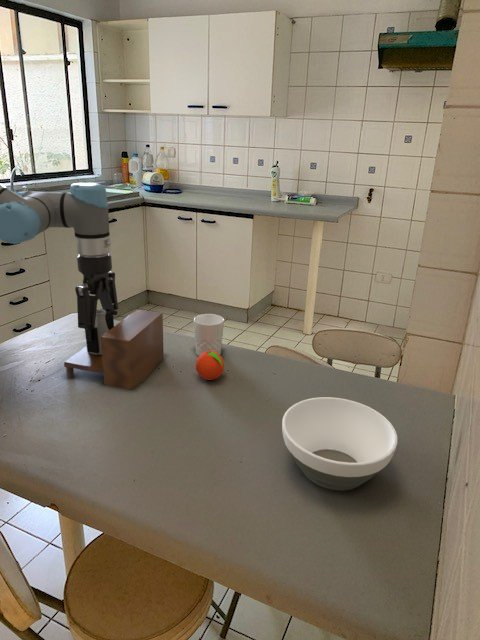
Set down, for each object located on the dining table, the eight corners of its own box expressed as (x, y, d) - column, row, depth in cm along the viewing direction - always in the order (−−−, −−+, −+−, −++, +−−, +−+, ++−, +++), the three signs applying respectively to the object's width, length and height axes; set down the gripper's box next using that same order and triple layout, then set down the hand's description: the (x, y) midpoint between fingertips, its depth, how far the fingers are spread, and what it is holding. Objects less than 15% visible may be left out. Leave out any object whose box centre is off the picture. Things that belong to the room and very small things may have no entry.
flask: (81, 347, 114) (77, 309, 111) (108, 340, 119) (106, 303, 115) (94, 358, 109) (91, 319, 106) (122, 350, 114) (120, 312, 110)
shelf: (66, 381, 109) (60, 330, 104) (105, 349, 125) (101, 304, 120) (132, 393, 105) (129, 341, 100) (163, 358, 121) (162, 312, 116)
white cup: (222, 360, 122) (223, 325, 118) (192, 359, 122) (192, 324, 118) (223, 347, 129) (224, 314, 125) (195, 346, 129) (195, 313, 125)
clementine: (232, 380, 113) (234, 353, 110) (212, 390, 108) (212, 362, 105) (210, 368, 118) (211, 343, 115) (189, 377, 113) (189, 351, 110)
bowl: (408, 474, 84) (418, 430, 80) (348, 532, 71) (356, 483, 67) (321, 426, 96) (326, 386, 93) (256, 468, 83) (258, 423, 80)
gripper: (84, 266, 95) (93, 365, 104) (129, 246, 113) (134, 332, 122) (52, 263, 97) (64, 360, 106) (101, 243, 115) (108, 328, 124)
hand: (101, 345), depth 114 cm, fingers closed on flask, 7 cm apart
